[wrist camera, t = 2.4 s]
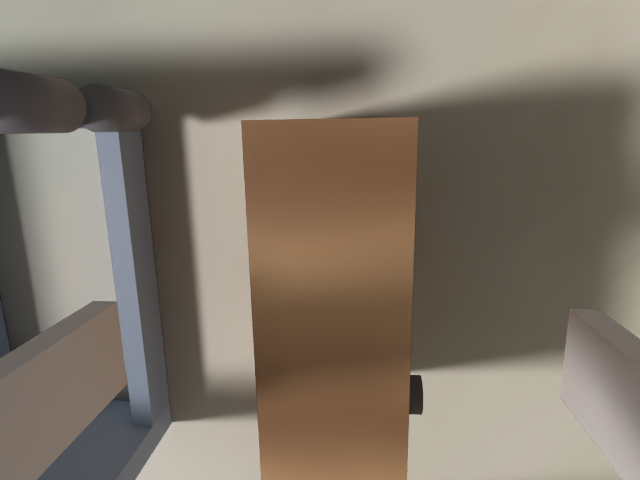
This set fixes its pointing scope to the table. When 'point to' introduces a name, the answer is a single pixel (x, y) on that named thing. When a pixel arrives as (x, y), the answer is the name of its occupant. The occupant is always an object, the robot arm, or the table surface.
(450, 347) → the table surface
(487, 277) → the table surface
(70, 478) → the cabinet
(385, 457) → the tan wooden block
